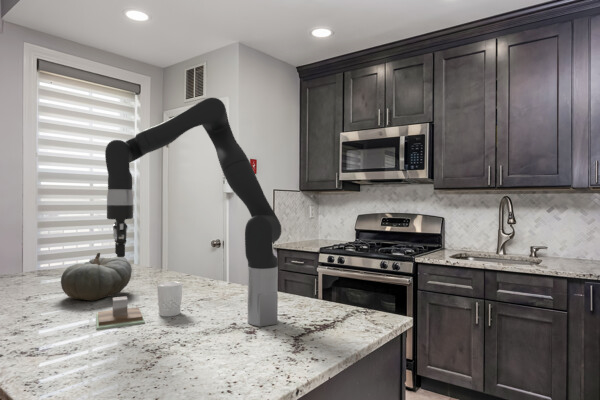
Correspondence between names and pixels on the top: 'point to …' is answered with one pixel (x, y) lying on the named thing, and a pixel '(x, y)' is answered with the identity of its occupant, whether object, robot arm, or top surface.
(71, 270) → the gourd
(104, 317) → the lid
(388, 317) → the top surface
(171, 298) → the white cup
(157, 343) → the top surface
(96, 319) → the mat
